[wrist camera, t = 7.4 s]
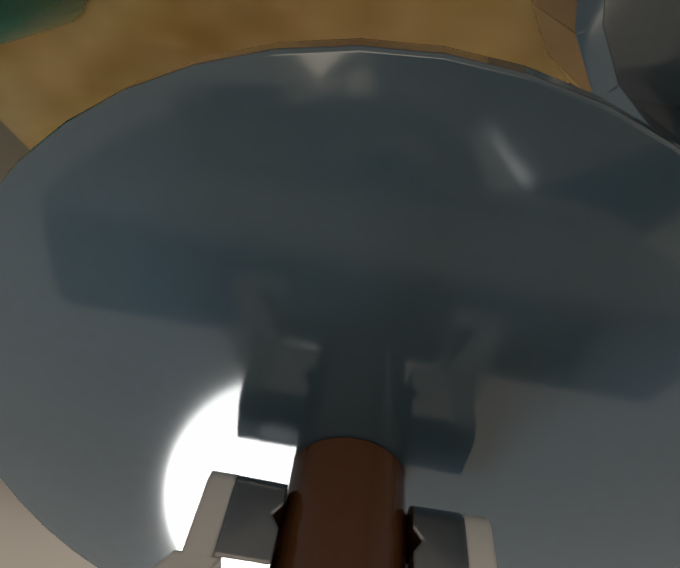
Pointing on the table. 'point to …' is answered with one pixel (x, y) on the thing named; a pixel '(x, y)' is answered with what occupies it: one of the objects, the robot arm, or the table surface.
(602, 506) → the lid
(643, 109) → the canister
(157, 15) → the table surface
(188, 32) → the table surface
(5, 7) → the green bottle
